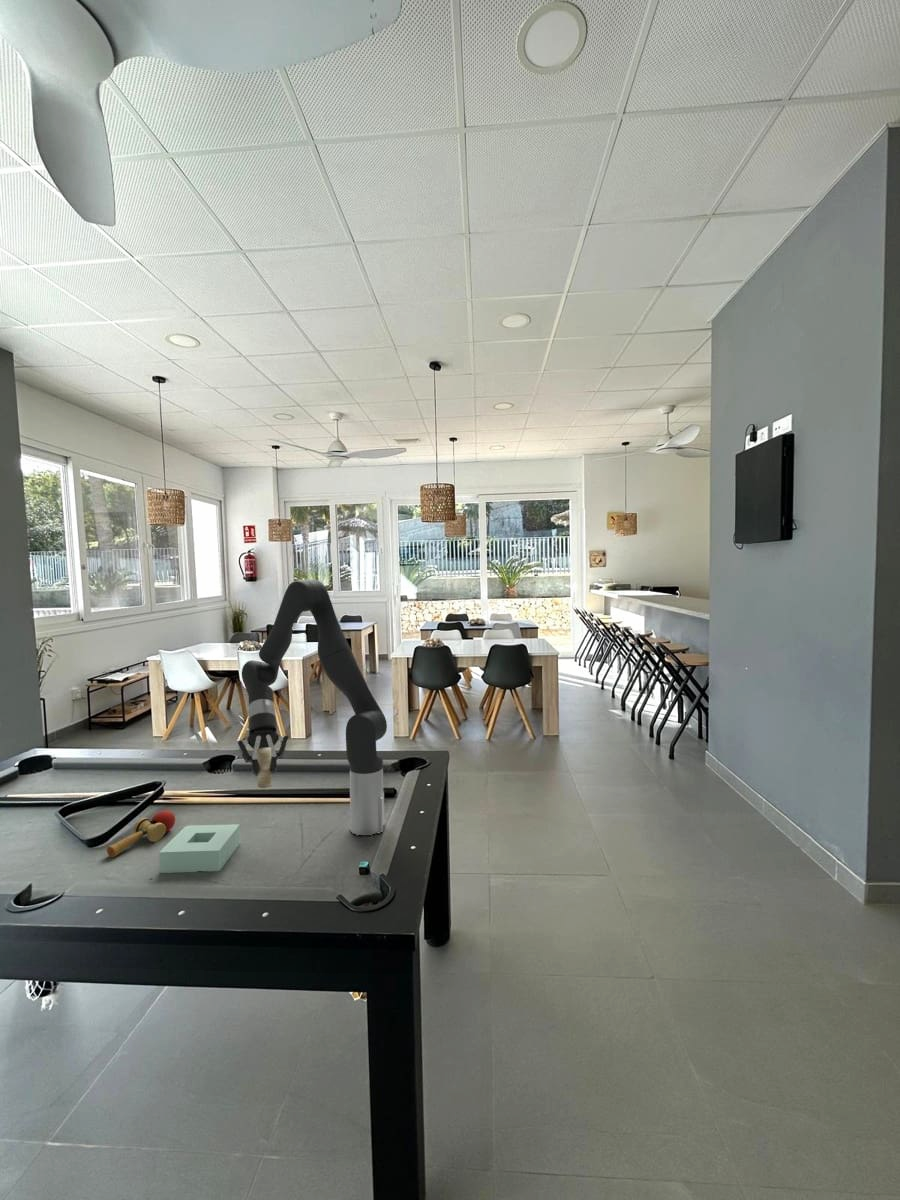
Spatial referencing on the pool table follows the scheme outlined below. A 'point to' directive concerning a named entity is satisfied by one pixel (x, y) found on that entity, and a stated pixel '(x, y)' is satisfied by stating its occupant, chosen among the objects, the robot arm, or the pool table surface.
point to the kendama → (145, 831)
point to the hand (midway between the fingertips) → (264, 773)
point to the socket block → (199, 848)
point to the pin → (264, 767)
